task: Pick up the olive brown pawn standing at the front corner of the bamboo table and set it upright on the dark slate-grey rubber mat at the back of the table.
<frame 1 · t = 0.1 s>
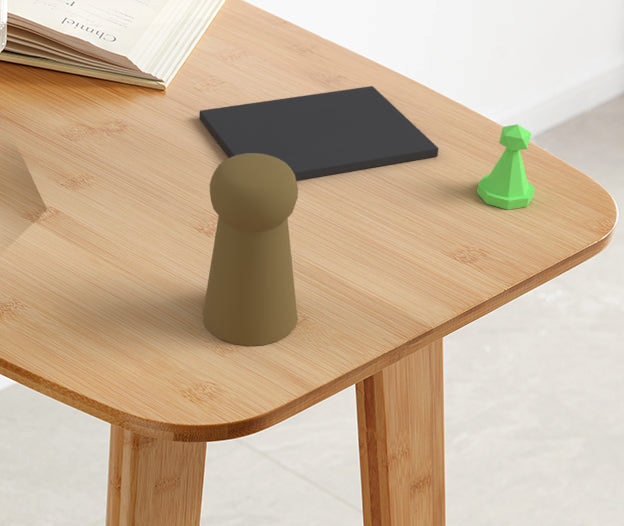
back mat: (316, 137, 92), on the table
olive brown pawn: (250, 319, 72), on the table
game piece: (504, 197, 87), on the table
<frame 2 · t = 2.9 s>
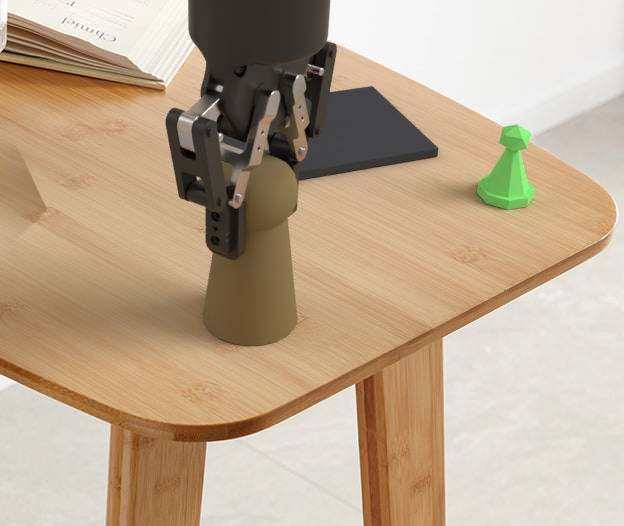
hand: (252, 231, 68), 6 cm above the table, tool pointing down, fingers closed on olive brown pawn, 5 cm apart
olive brown pawn: (250, 319, 72), on the table, touching gripper
everything else where it was.
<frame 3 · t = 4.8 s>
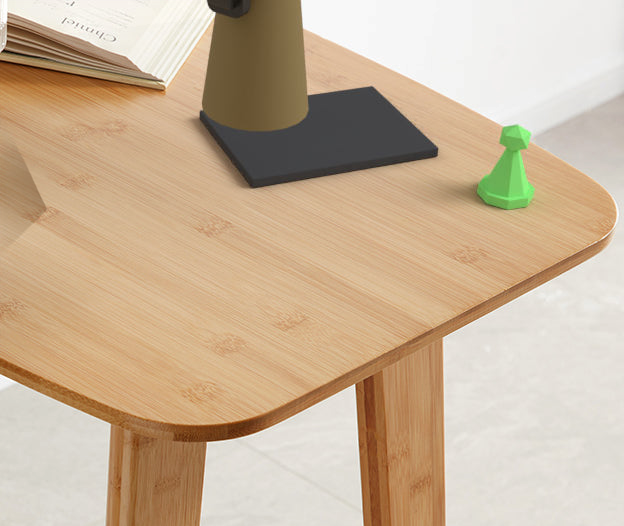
olive brown pawn: (255, 109, 64), point 14 cm above the table, touching gripper
everything else where it was.
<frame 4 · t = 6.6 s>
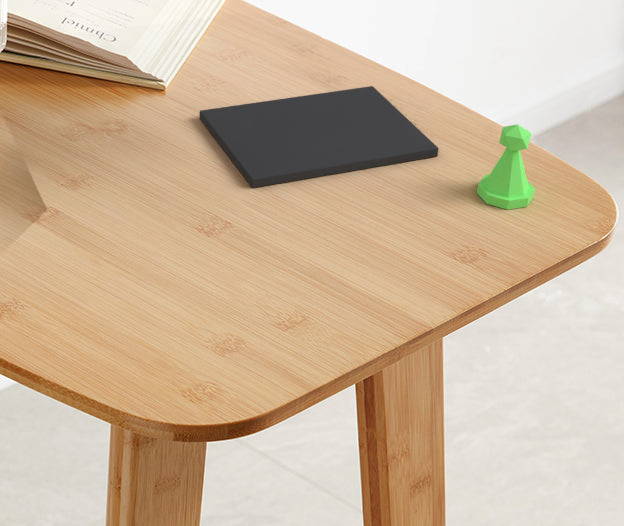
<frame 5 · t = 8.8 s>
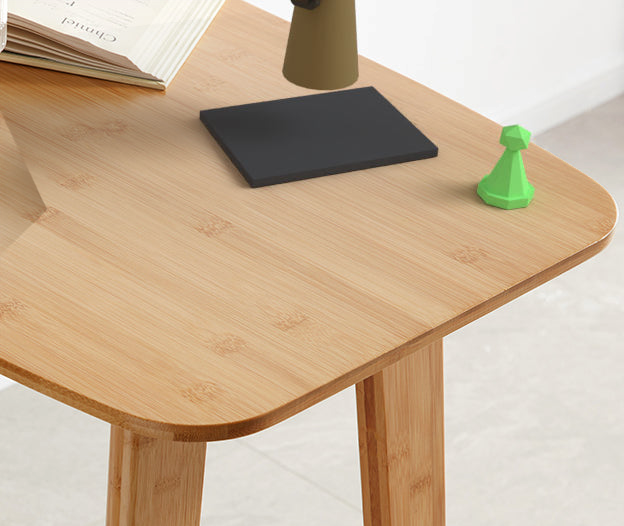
olive brown pawn: (320, 76, 89), point 5 cm above the table, touching gripper
everything else where it was.
when the fingers open (7 cm above the table, at t = 10.5 s): olive brown pawn stays where it is, resting on back mat.
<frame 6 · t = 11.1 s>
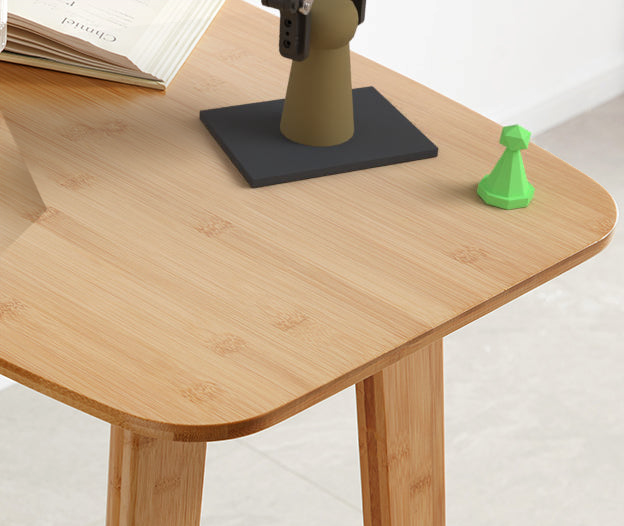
hand: (322, 40, 87), 8 cm above the table, tool pointing down, fingers open, 8 cm apart
olive brown pawn: (316, 131, 92), point 1 cm above the table, touching back mat
everything else where it was.
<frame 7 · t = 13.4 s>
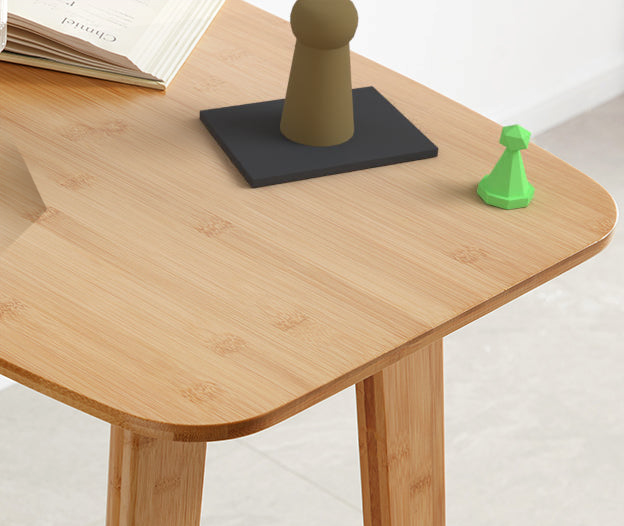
nothing on the table moved.
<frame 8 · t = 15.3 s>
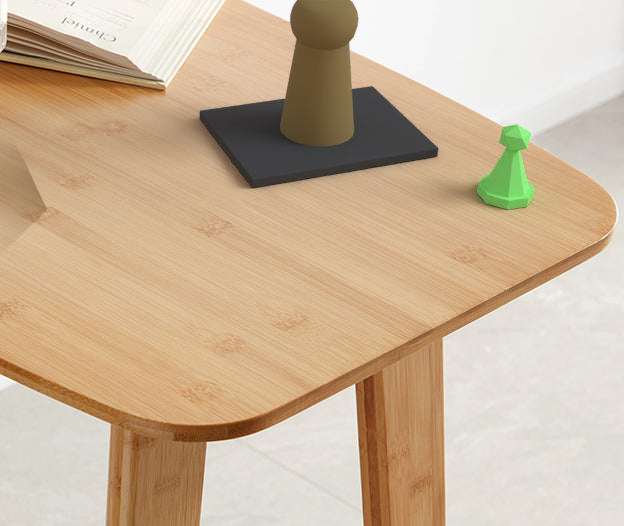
nothing on the table moved.
at the end: olive brown pawn inside the target area on the back mat (0.0 cm from its centre), point 0.6 cm above the back mat's base; olive brown pawn tilted 0°; the gripper is holding nothing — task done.
